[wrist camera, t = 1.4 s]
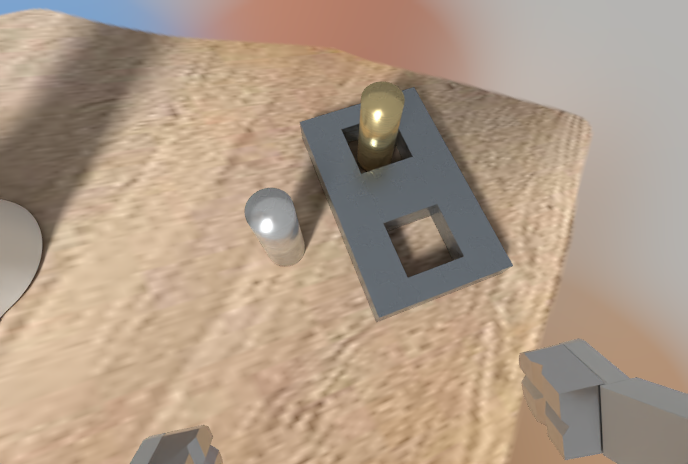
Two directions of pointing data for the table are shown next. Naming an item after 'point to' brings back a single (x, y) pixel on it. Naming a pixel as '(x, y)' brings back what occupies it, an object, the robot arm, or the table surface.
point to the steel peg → (276, 225)
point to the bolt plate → (399, 197)
